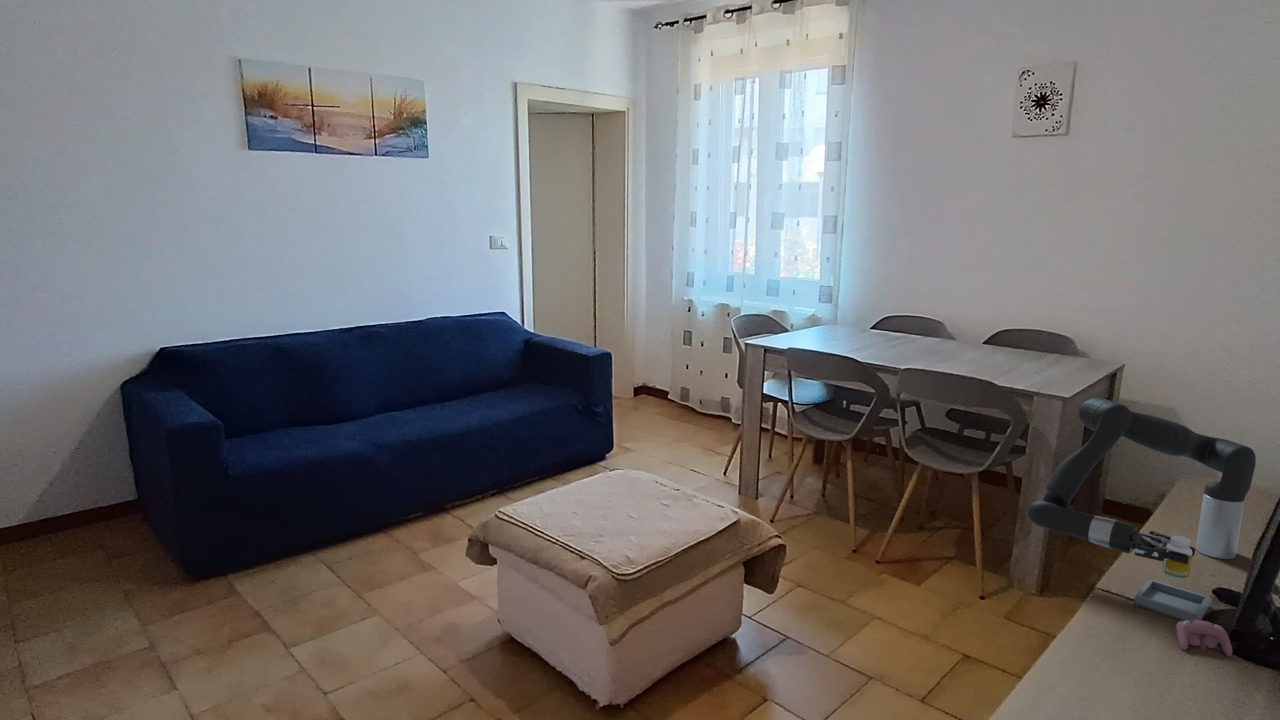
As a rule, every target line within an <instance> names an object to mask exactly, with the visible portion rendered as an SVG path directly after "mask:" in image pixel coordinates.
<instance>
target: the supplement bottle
mask: <svg viewBox="0 0 1280 720" xmlns="http://www.w3.org/2000/svg"><path fill="white" fill-rule="evenodd" d="M1170 537H1171V539H1170V544H1169V543H1167V545H1166V546H1165V547H1166V548H1167V549H1169V550H1170V552H1171V550H1173V551H1176V552H1180V553H1183V554H1187V555H1189V562H1188V564H1184V563H1180V562H1177V561H1173V560H1170V559H1169V560H1165V559H1164V561H1162V566H1161V567H1162V569H1161V572H1162V574H1163V575H1164V576H1167V577H1168V578H1171V579H1174V580H1178V581H1179V580H1181V581H1183V580H1185V581H1186V580H1188V579H1189V577H1190V571H1191V563H1192V558H1193V557H1192V553H1193V552H1192V550H1191V549H1190V548H1189V547H1191V542H1192V541H1191V539H1189V538H1188V537H1185V536H1182V535H1175V534H1174V535H1171V536H1170Z"/></svg>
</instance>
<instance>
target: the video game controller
mask: <svg viewBox="0 0 1280 720" xmlns="http://www.w3.org/2000/svg"><path fill="white" fill-rule="evenodd" d="M1175 630H1176V636H1177V640H1178V644H1179V646H1180V648H1181V649H1182V650H1183V651H1187V650H1188V648H1189V645H1191V646H1199V645H1200V644H1201V639H1200V638H1199V636H1198V635H1205V637H1204V638H1203V645H1204V646H1205V647H1206V648H1208V649H1214V648H1216V647H1217V645H1218V644H1219V645H1220V646H1221V648H1222V650H1223V652H1224V654H1225V655H1226V656H1227V655H1228V656H1231V657H1232V656H1233V647H1232V644H1231V639H1230V638H1229V635H1228V633H1227V631H1226V630H1225V629H1224V628H1223V627H1222V626H1221V625H1218V624H1215V623H1213V622H1211V621H1206V620H1184V621H1182V620H1179V621H1178V622H1177V623H1176V625H1175ZM1228 656H1227V657H1228Z"/></svg>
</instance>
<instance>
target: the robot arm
mask: <svg viewBox="0 0 1280 720" xmlns="http://www.w3.org/2000/svg"><path fill="white" fill-rule="evenodd" d="M1078 417H1079V420H1080V422H1081V423H1082V425H1084V426H1085V427H1086V428H1088V429H1089V430H1092V431H1093V434H1092V436H1091V437H1090V438H1089V440H1088V441H1087V442H1086V443H1085V444H1084V445H1083V446H1081V447H1080V448H1079V449H1078V450H1077V451H1075V452H1073V453H1072V454H1070V455H1069V456H1068V457H1066V458H1065V459H1064V460H1063V461H1061V463H1060V464H1059V465H1058V466H1057V468H1056V469H1055V471H1054V472H1053V474H1052V475H1051V477H1050V479H1049V480H1048V482H1047V483H1046V487H1045V489H1046V493H1045V494H1044V497H1043V498H1042V500H1036V501H1034V502H1032V503H1030V504H1029V506H1028V508H1027V511H1026V513H1027V517H1028V519H1029V521H1030V522H1031V523H1033V525H1036V526H1038V527H1040V528H1042V529H1044V530H1054V531H1058V532H1061V533H1066V534H1067V535H1070V536H1072V537H1074V538H1077V539H1080V540H1084V541H1087V542H1091V543H1093V544H1096V545H1098V546H1101V547H1105V548H1108V549H1111V550H1114V551H1118V552H1122V553H1124V554H1131V553H1132V552H1133V551H1134V556H1136V557H1142V558H1146V559H1150V560H1154V561H1158V562H1163V561H1164V559H1165V560H1169V559H1170V560H1173V561H1177V562H1180V563H1184V564H1188V562H1189V555H1187V554H1183V553H1180V552H1176V551H1173V550H1171V552H1170V550H1169V549H1167V548H1166V545H1167V544H1170V539H1171V536H1168V535H1166V534H1162V533H1160V532H1157V531H1154V530H1149V533H1144V532H1143V533H1142V532H1138V526H1137V525H1135V524H1131V523H1129V522H1124V521H1121V520H1117V519H1113V518H1109V517H1104V516H1099V515H1095V514H1091V513H1087V512H1084V511H1078V510H1074V509H1070V508H1069V507H1070V504H1071V502H1072V499H1073V498H1074V497H1075V496H1076V494H1077V492H1078V491H1079V489H1080V487H1081V486H1082V484H1083V483H1084V481H1085V480H1086V478H1087V477H1088V475H1089V473H1090V472H1091V471H1092V470H1093V469H1094V468H1095V466H1096V465H1097V464H1098V463H1099V461H1100V460H1101V459H1103V457H1104V456H1105V455H1107V453H1108V452H1109V450H1110V449H1112V447H1113V446H1114V445H1115V444H1116V443H1117V442H1118V440H1120V439H1121V437H1123V438H1125V439H1127V440H1130V441H1132V442H1134V443H1135V444H1138V445H1140V446H1142V447H1145V448H1147V449H1150V450H1152V451H1156V452H1158V453H1160V454H1161V453H1162V454H1165V455H1168V456H1172V457H1186V458H1189V459H1191V460H1193V461H1196V462H1197V463H1199V464H1201V465H1204V466H1205V467H1208V468H1209V469H1212V470H1214V471H1217V472H1219V473H1222V474H1221V477H1220V480H1219V481H1210V482H1207V483H1205V485H1204V489H1203V495H1202V502H1201V510H1200V516H1199V524H1198V529H1197V537H1196V543H1195V547H1193V546H1190V547H1189V548H1190V549H1191V550H1192V552H1193V553H1192V558H1193V557H1194V556H1195V553H1196V551H1198V553H1201V554H1203V555H1205V556H1207V557H1212V558H1216V559H1221V560H1233V559H1236V558H1237V557H1236V556H1237V552H1238V546H1239V541H1240V540H1239V539H1240V533H1241V532H1240V531H1241V526H1242V520H1243V516H1244V515H1243V514H1244V513H1243V512H1244V509H1245V508H1244V507H1245V501H1246V496H1247V494H1248V493H1249V491H1250V489H1251V486H1252V481H1253V476H1254V473H1255V470H1256V469H1255V468H1256V463H1257V461H1256V460H1257V456H1256V453H1255V452H1254V450H1253V449H1252V448H1251V447H1250V446H1247V445H1244V444H1241V443H1238V442H1235V441H1233V440H1229V439H1224V438H1218V437H1214V436H1208V435H1205V434H1200V433H1197V432H1195V431H1193V430H1192V429H1191V428H1190V427H1188V426H1185V425H1183V424H1180V423H1178V422H1175V421H1172V420H1169V419H1166V418H1163V417H1158V416H1155V415H1150V414H1146V413H1140V412H1136V411H1132V410H1130V409H1129V408H1128V406H1126V405H1124V404H1122V403H1119V402H1117V401H1112V400H1109V399H1106V398H1102V397H1094V398H1089V399H1087V400H1085V401H1084V402H1083V403H1082V404H1081V405H1080V407H1079V409H1078Z"/></svg>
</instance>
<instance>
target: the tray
mask: <svg viewBox="0 0 1280 720" xmlns="http://www.w3.org/2000/svg"><path fill="white" fill-rule="evenodd" d="M1211 601H1212V597H1211V596H1208V595H1205V594H1202V593H1197V592H1195V591H1191V590H1188V589H1186V588H1185V589H1184V588H1182V587H1178V586H1175V585H1171V584H1168V583H1165V582H1161V581H1158V580H1155V579H1151V578H1149V579H1148V580H1147V581H1146V582H1145V583H1144V585H1143V586H1142V587H1141V588H1140V589H1139V591H1137V593H1136V594H1135V596H1134V602H1133V605H1134V606H1136V607H1140V608H1142V609H1145V610H1148V611H1152V612H1154V613H1157V614H1159V615H1164V616H1166V617H1170V618H1174V619H1176V620H1179V621H1184V620H1201V619H1203V618H1204V617H1205V615H1206V613H1207V612H1208V610H1209V609H1208V608H1210V607H1209V606H1211V603H1212V602H1211ZM1207 609H1208V610H1207ZM1206 611H1207V612H1206ZM1204 614H1205V615H1204ZM1203 616H1204V617H1203Z"/></svg>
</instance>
